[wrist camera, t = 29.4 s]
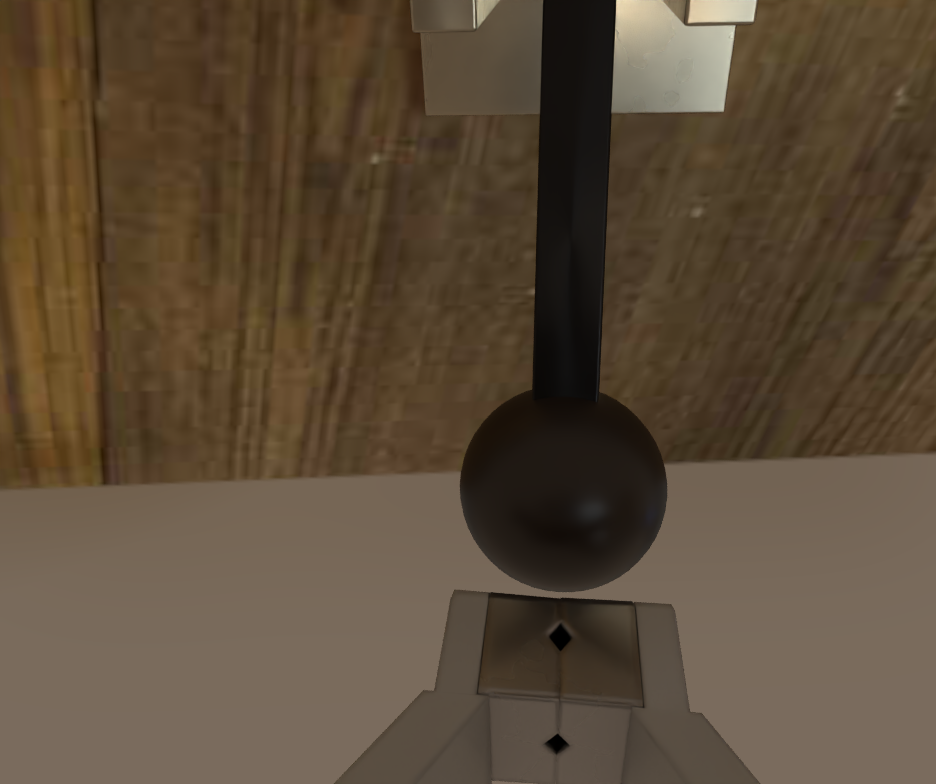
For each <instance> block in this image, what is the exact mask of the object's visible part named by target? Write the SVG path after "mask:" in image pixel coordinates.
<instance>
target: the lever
mask: <svg viewBox="0 0 936 784" xmlns="http://www.w3.org/2000/svg"><path fill="white" fill-rule="evenodd" d="M616 3H617V0H543V15H542V52H541V89H540V126H539V163H538V200H537V237H536V274H535V310H534V347H533V384H532V390H529V391H526V392H524V393H521V394H519V395H517V396H515V397H513V398H511V399H510V400H508V401H506V402H505V403H503V404H502V405H501V406H499V407H498V408H497V409H496V410H494V411H493V412H492V413H491V414H490V415H489V416H488V417H487V418H486V420H485V421H484V422H483V423H482V424H481V426H480V427H479V429H478V430H477V431H476V433H475V434H474V436H473V438H472V440H471V442H470V444H469V446H468V449H467V451H466V454H465V457H464V461H463V466H462V470H461V479H460V495H461V503H462V508H463V513H464V517H465V520H466V523H467V526H468V528H469V530H470V532H471V534H472V536H473V538H474V540H475V541H476V543H477V545H478V546H479V548H480V549H481V550H482V551H483V553H484V554H485V555H486V556H487V557H488V559H489V560H490V561H491V562H492V563H493V564H494V565H496V566H497V567H498V568H499V569H500V570H501V571H503V572H504V573H506V574H507V575H509V576H510V577H512V578H514V579H515V580H517V581H519V582H521V583H524V584H526V585H529V586H531V587H534V588H538V589H542V590H547V591H555V592H575V591H584V590H588V589H592V588H596V587H599V586H602V585H604V584H607V583H609V582H611V581H613V580H615V579H617V578H618V577H620V576H621V575H623V574H624V573H626V572H627V571H629V570H630V569H631V568H632V567H633V566H634V565H635V564H636V563H637V562H638V561H639V560H640V559H641V558H642V557H643V555H644V554H645V553H646V552H647V551H648V549H649V548H650V546H651V545H652V543H653V541H654V540H655V538H656V536H657V534H658V532H659V529H660V527H661V524H662V521H663V517H664V513H665V508H666V501H667V479H666V472H665V467H664V463H663V460H662V456H661V453H660V451H659V449H658V446H657V444H656V442H655V440H654V439H653V437H652V435H651V434H650V432H649V431H648V429H647V428H646V427H645V426H644V424H643V423H642V422H641V421H640V420H639V418H638V417H637V416H636V415H635V414H634V413H632V412H631V411H630V410H629V409H628V408H627V407H625V406H624V405H623V404H621V403H620V402H618V401H617V400H615V399H613V398H611V397H609V396H607V395H606V394H603V393H601V392H599V384H600V361H601V339H602V316H603V294H604V272H605V249H606V227H607V204H608V182H609V159H610V137H611V115H612V92H613V70H614V47H615V25H616Z"/></svg>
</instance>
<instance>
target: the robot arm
mask: <svg viewBox="0 0 936 784" xmlns="http://www.w3.org/2000/svg"><path fill="white" fill-rule="evenodd" d="M491 780H493V781H507V782H522V783H538V784H760V783H759V782H758V780H757V779H756V778H755V777H754V776H753V774H752V773H751V772H750V771H749V770H748V768H747V767H746V766H745V765H744V763H743V762H742V761H741V760H740V759H739V757H738V756H737V755H736V754H735V753H734V751H732V749H731V748H730V747H729V745H728V744H727V743H726V742H725V741H724V740H723V738H722V737H721V736H720V735H719V733H718V732H717V731H716V730H715V729H714V728H713V726H712V725H711V724H710V723H709V721H708V720H707V719H706V718H705V717H704V715H703V714H702V713H695V712H690V709H689V703H688V696H687V689H686V683H685V675H684V669H683V662H682V655H681V648H680V642H679V635H678V628H677V621H676V615H675V610H674V608H673V607H672V605H671V604H657V603H641V602H634V603H633V602H632V601H613V600H595V599H575V598H561V599H559V598H547V597H536V596H526V595H515V594H504V593H493V592H491V593H488V592H476V591H465V590H454V592H453V595H452V597H451V600H450V605H449V611H448V617H447V622H446V627H445V633H444V639H443V645H442V650H441V656H440V661H439V667H438V673H437V678H436V683H435V689H434V691H427V690H425V691H424V690H423V691H422V692H421V693H420V694H419V696H418V697H417V698H416V699H415V700H414V701H413V702H412V703H411V704H410V705H409V706H408V707H407V708H406V709H405V710H404V711H403V712H402V713H401V714H400V715H399V716H398V717H397V719H395V721H394V722H393V723H392V724H391V725H390V726H389V727H388V728H387V729H386V730H385V731H384V732H383V733H382V734H381V735H380V736H379V737H378V738H377V739H376V740H375V741H374V742H373V743H372V745H371V746H370V747H369V748H368V749H367V750H366V751H365V752H364V753H363V754H362V755H361V756H360V757H359V758H358V759H357V760H356V761H355V762H354V763H353V764H352V765H351V766H350V767H349V768H348V770H347V771H346V772H345V773H344V774H343V775H342V776H341V777H340V778H339V779H338V780H337V781H336V782H335V783H334V784H492V783H491V782H492V781H491ZM555 780H556V783H555Z"/></svg>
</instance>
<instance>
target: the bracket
mask: <svg viewBox="0 0 936 784" xmlns="http://www.w3.org/2000/svg"><path fill="white" fill-rule="evenodd" d="M758 1H759V0H617V3H616V25H615V47H614V70H613V92H612V114H660V113H723V112H724V111H725V104H726V97H727V90H728V83H729V76H730V69H731V62H732V55H733V48H734V41H735V34H736V27H737V25H752V24H754V22H755V20H756V14H757V8H758ZM410 14H411V28H412V31H413V32H414V33H420V41H421V56H422V72H423V87H424V103H425V114H426V116H469V115H540V89H541V52H542V15H543V0H410Z"/></svg>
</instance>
